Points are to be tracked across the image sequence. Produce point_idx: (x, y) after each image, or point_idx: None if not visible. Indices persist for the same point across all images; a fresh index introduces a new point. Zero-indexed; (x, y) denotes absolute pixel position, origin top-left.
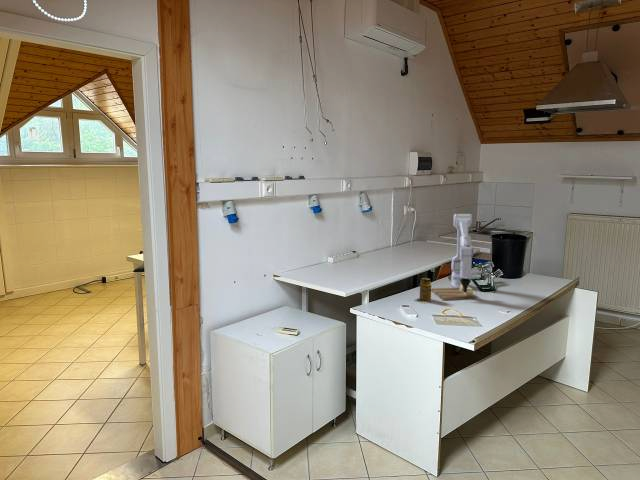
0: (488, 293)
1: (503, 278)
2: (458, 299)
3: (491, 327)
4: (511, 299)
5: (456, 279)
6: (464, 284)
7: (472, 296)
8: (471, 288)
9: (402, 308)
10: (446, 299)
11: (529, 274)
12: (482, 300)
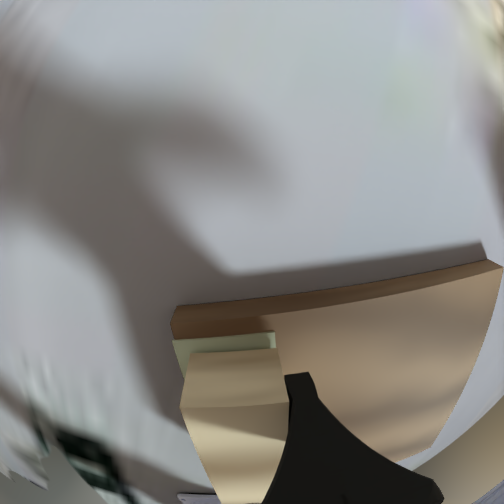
0: (57, 404)
1: (47, 490)
2: (377, 281)
3: None
4: None
5: (497, 485)
6: (379, 457)
7: (203, 317)
8: (193, 437)
9: None
10: (474, 264)
11: (3, 473)
12: (104, 231)
